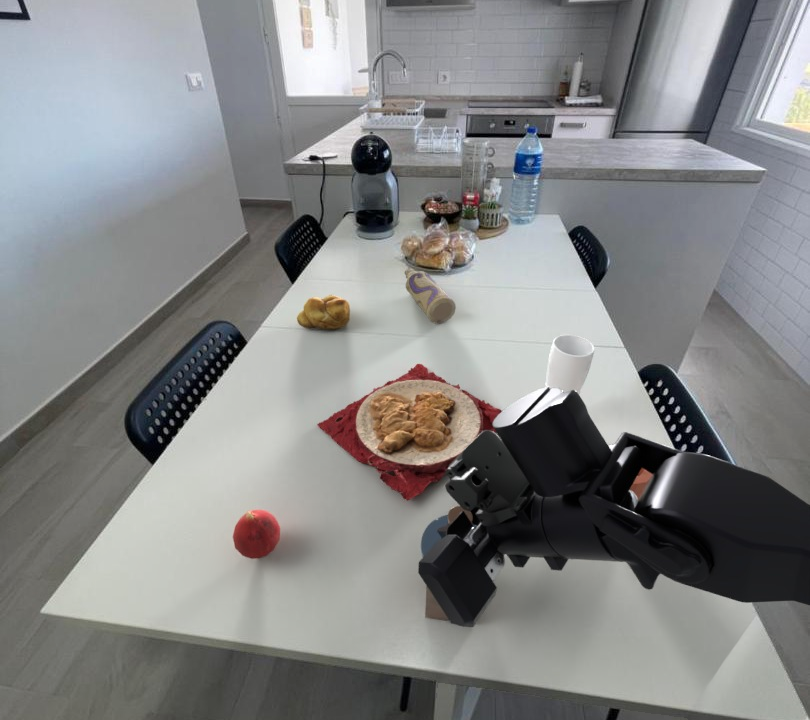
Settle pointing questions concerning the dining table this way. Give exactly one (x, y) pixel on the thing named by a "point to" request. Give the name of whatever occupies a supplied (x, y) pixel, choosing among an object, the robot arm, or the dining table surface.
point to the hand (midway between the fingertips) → (448, 523)
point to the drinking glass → (569, 362)
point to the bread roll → (325, 313)
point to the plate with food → (411, 428)
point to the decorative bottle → (429, 296)
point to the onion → (256, 534)
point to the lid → (431, 532)
